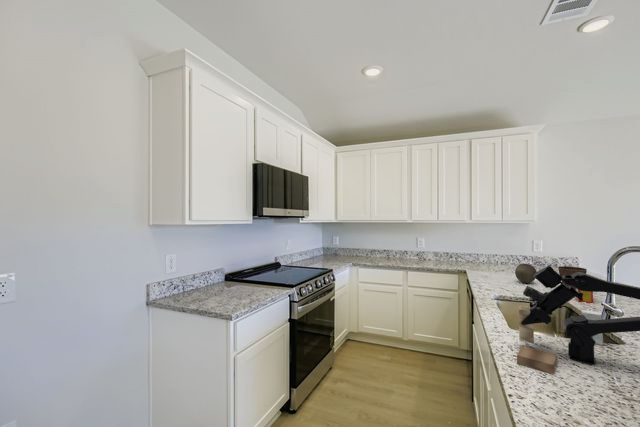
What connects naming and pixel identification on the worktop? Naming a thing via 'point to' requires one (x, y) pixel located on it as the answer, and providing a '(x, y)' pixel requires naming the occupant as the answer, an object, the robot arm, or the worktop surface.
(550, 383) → the worktop surface
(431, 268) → the worktop surface
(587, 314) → the skincare box
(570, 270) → the plant pot
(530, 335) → the ash block
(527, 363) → the walnut block
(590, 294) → the baking soda box
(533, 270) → the cantaloupe
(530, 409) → the worktop surface
